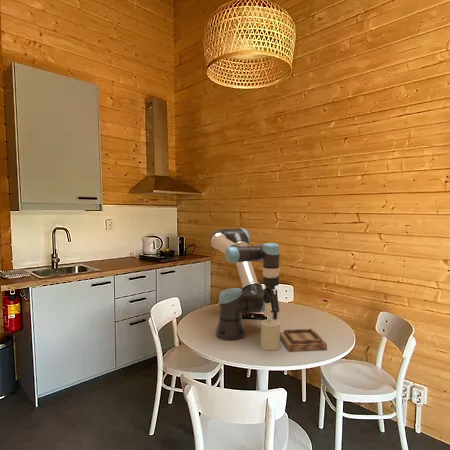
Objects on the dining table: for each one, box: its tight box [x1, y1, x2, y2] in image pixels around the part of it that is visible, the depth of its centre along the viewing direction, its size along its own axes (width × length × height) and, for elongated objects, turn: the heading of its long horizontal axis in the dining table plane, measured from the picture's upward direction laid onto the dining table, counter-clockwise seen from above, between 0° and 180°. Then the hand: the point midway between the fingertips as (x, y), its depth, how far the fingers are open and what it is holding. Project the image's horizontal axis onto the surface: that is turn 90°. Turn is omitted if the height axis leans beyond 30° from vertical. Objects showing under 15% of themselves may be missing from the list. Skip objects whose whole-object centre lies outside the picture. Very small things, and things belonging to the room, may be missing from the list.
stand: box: [280, 328, 328, 353], centre depth 167 cm, size 18×16×4 cm
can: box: [260, 318, 281, 351], centre depth 164 cm, size 9×9×12 cm
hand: (270, 321), depth 163 cm, fingers open, 13 cm apart
